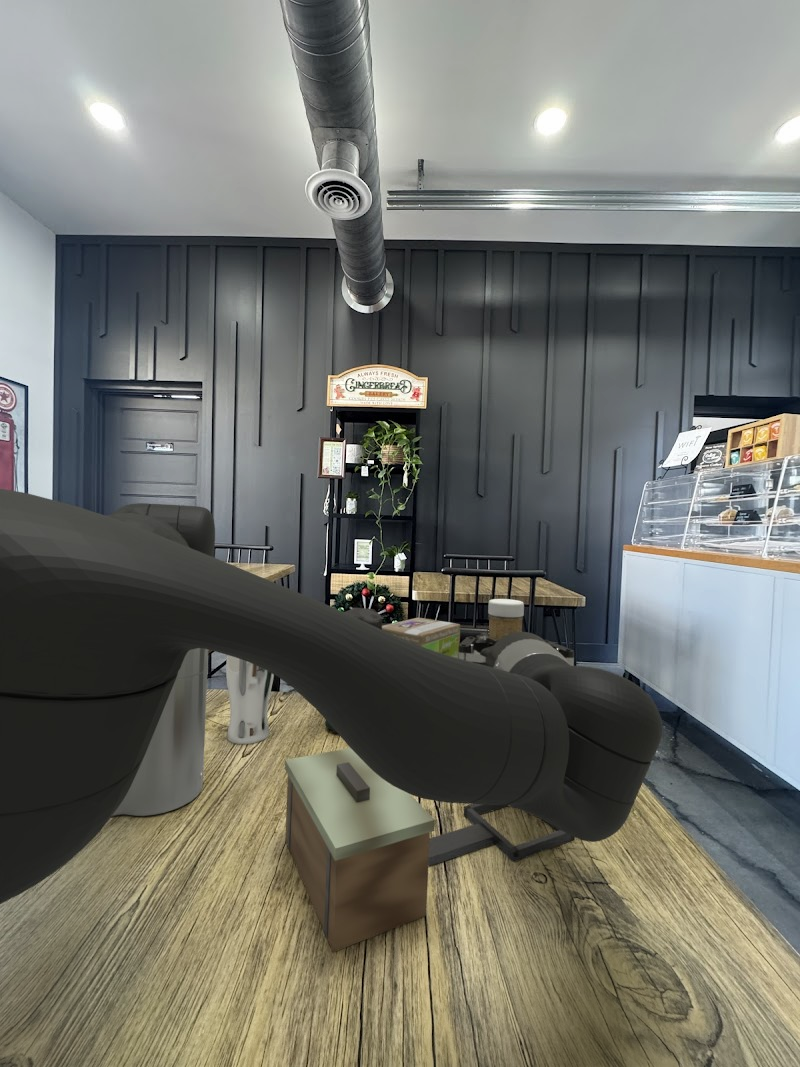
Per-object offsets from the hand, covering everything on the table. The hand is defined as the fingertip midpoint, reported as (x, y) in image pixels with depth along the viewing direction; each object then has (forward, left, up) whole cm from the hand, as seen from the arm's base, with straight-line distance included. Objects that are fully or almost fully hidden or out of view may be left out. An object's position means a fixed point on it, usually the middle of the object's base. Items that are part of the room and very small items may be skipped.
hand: (501, 640), depth 65 cm
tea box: (+1, +24, -17) cm, 29 cm away
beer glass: (-29, +22, -17) cm, 40 cm away
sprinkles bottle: (-1, -2, -8) cm, 8 cm away
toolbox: (-26, -11, -17) cm, 33 cm away
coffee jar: (-13, +20, -17) cm, 29 cm away
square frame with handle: (-11, -12, -17) cm, 24 cm away
